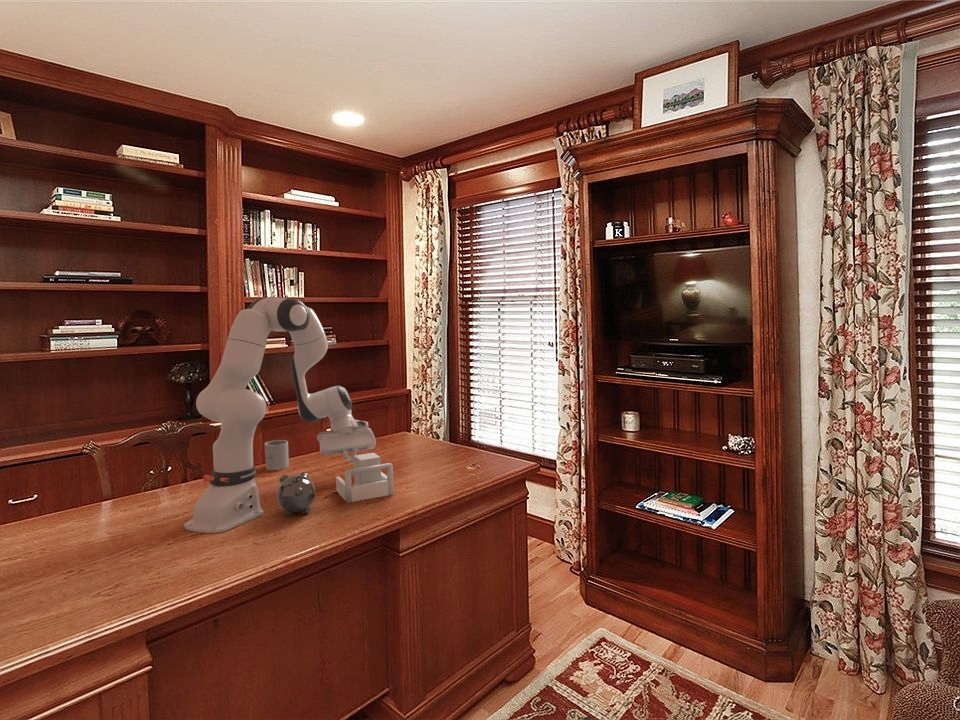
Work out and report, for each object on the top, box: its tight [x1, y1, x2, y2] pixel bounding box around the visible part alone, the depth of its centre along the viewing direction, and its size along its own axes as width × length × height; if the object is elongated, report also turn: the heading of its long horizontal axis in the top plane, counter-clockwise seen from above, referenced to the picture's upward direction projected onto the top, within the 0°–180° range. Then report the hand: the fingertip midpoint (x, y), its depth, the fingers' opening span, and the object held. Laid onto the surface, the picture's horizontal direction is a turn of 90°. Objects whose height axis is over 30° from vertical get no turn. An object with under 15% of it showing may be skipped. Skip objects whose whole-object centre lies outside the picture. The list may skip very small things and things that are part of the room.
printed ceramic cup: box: [264, 439, 290, 471], centre depth 212 cm, size 12×9×10 cm
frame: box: [335, 462, 394, 504], centre depth 180 cm, size 14×16×11 cm
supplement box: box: [353, 452, 382, 486], centre depth 181 cm, size 7×7×13 cm
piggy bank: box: [276, 471, 316, 518], centre depth 164 cm, size 11×15×12 cm
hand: (352, 461), depth 192 cm, fingers closed
